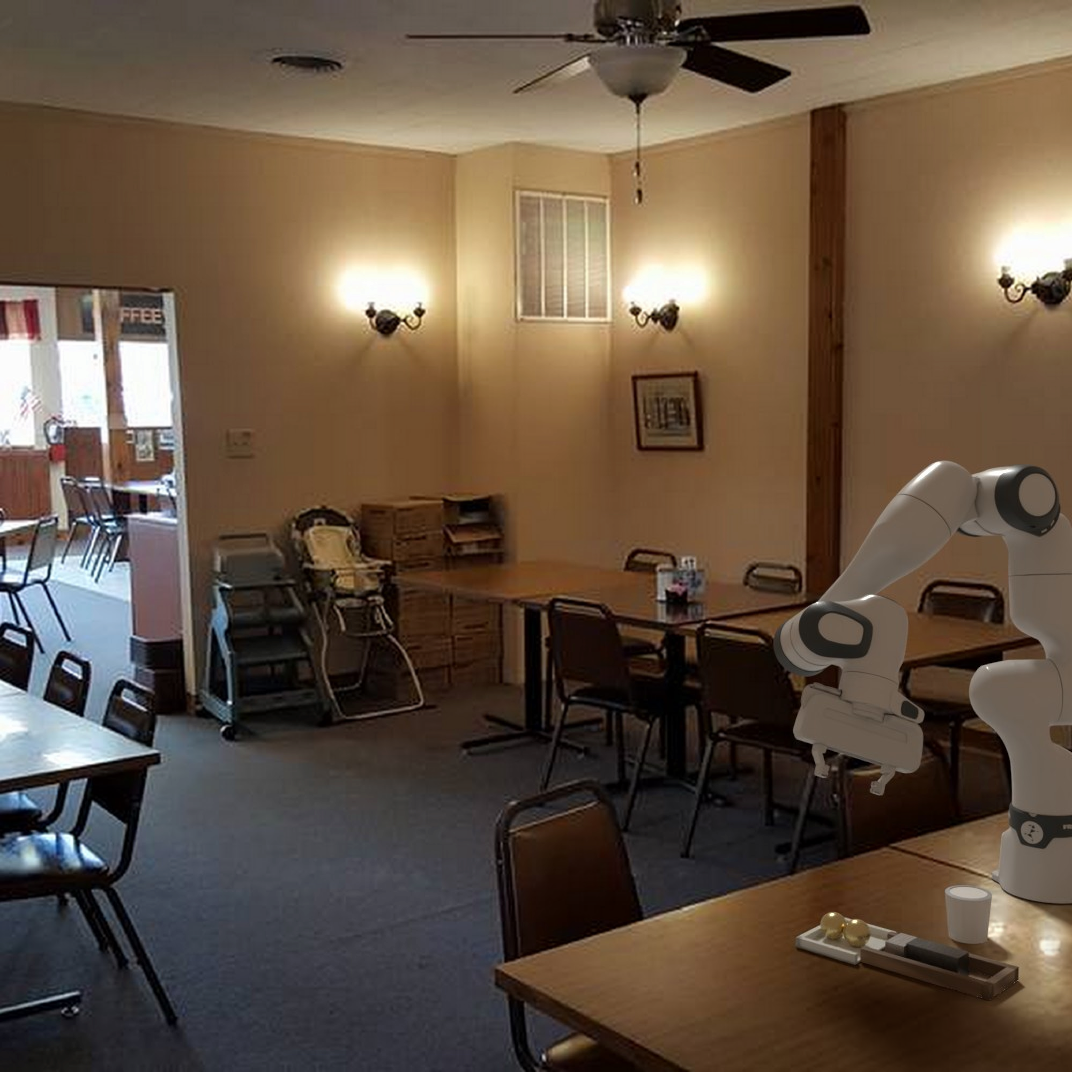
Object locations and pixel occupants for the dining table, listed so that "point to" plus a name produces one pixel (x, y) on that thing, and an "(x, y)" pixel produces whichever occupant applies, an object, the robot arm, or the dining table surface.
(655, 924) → the dining table surface
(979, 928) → the white cup
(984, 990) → the slot rail
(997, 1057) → the dining table surface
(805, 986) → the dining table surface
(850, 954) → the tray
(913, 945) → the long gray brick
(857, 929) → the brass sphere
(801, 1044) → the dining table surface
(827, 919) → the shiny gold ball
